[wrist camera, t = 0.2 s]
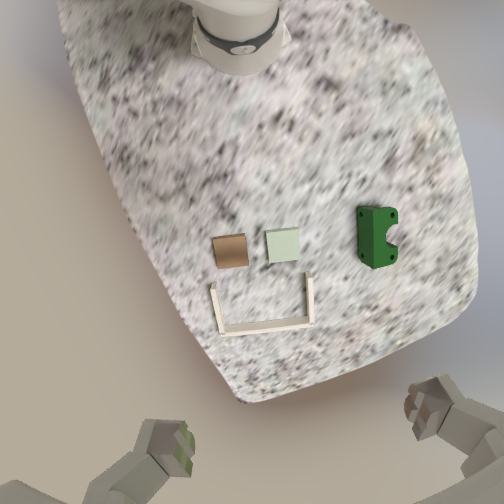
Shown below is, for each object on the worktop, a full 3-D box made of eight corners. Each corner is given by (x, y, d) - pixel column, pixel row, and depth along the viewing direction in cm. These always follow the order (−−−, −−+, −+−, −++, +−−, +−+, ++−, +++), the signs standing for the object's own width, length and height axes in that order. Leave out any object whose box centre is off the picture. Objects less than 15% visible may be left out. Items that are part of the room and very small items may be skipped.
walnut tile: (214, 236, 55) (212, 239, 54) (244, 232, 55) (244, 235, 53) (219, 265, 57) (218, 269, 56) (248, 261, 57) (248, 265, 55)
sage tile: (265, 230, 55) (266, 232, 53) (296, 226, 55) (298, 229, 53) (268, 259, 57) (269, 263, 55) (298, 255, 57) (300, 259, 55)
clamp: (373, 241, 59) (394, 269, 53) (350, 246, 59) (371, 275, 52) (384, 194, 52) (411, 220, 45) (359, 197, 51) (386, 225, 44)
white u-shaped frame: (212, 282, 58) (210, 289, 55) (310, 271, 57) (312, 277, 55) (221, 329, 62) (220, 336, 59) (311, 318, 61) (314, 326, 58)
